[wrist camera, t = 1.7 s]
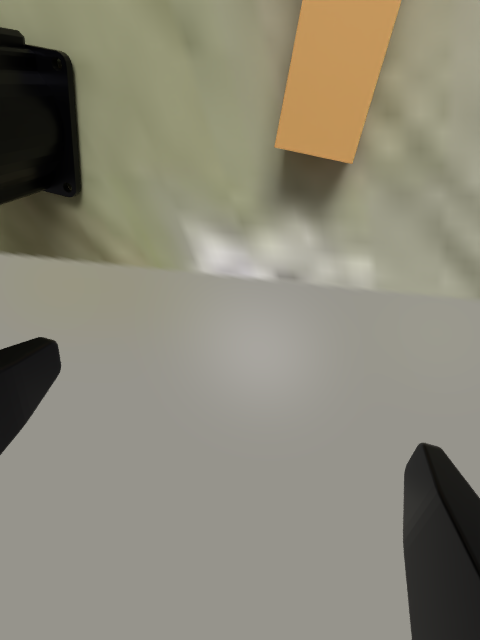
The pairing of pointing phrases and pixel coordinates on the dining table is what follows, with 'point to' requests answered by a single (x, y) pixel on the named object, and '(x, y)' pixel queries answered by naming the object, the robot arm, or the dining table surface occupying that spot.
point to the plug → (334, 75)
